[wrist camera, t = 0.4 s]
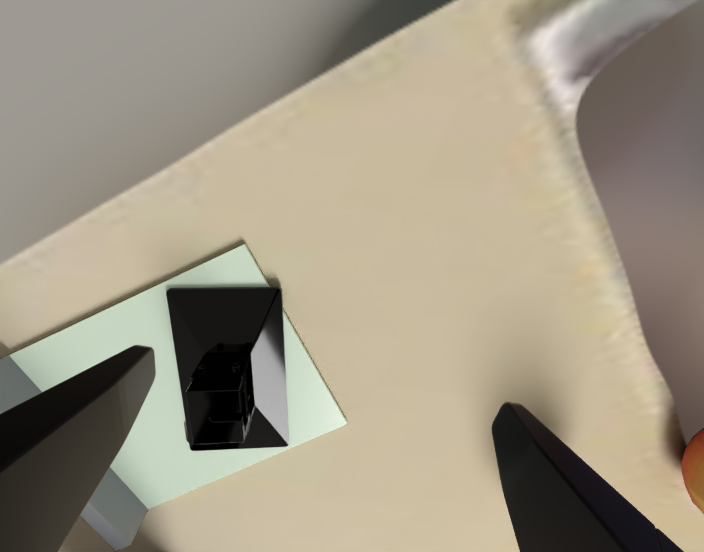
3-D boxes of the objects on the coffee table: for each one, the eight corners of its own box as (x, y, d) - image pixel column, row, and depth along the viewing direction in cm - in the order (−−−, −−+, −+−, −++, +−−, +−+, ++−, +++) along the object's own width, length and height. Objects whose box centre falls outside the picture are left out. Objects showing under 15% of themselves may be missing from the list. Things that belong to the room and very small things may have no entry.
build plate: (289, 442, 27) (283, 498, 23) (188, 446, 27) (162, 504, 22) (282, 286, 23) (272, 318, 19) (163, 287, 23) (124, 320, 18)
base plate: (136, 511, 28) (115, 551, 25) (-3, 360, 24) (-48, 388, 21) (347, 421, 27) (349, 452, 24) (245, 243, 22) (234, 256, 20)
